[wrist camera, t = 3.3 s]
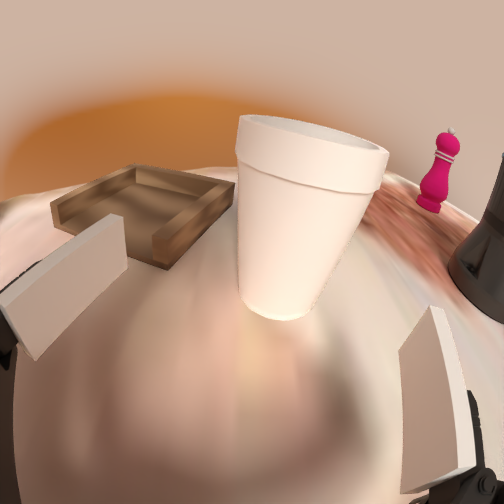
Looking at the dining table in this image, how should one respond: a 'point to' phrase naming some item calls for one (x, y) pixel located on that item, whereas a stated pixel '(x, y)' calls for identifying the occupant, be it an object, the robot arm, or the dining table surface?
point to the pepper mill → (439, 173)
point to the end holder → (148, 209)
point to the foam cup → (297, 208)
